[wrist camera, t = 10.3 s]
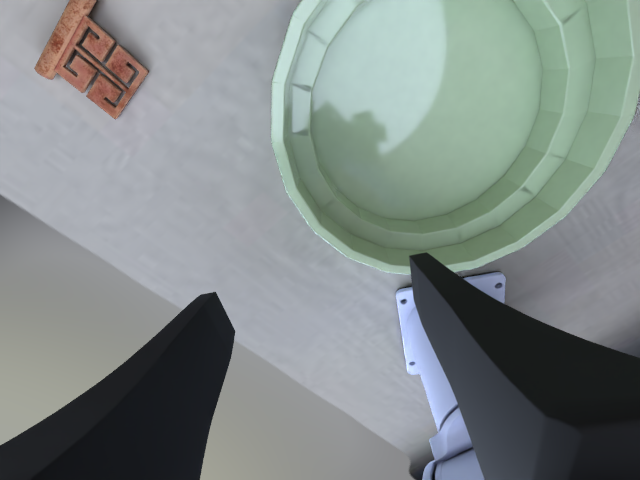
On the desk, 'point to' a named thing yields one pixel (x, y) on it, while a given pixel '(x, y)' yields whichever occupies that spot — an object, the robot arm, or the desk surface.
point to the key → (64, 46)
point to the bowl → (449, 120)
